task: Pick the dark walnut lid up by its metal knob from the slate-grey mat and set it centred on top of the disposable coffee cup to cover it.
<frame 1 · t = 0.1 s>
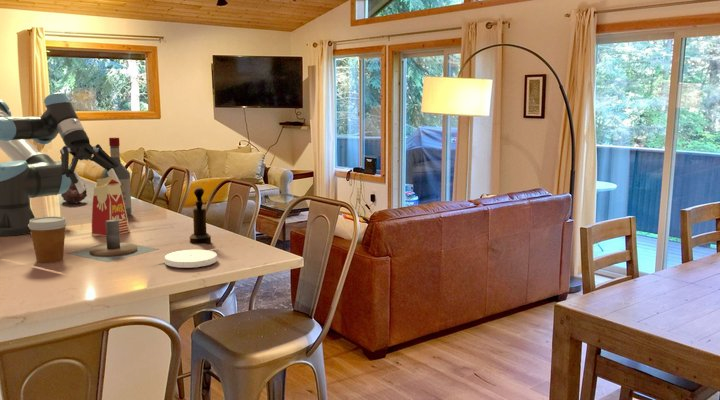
hand: (101, 189, 198), 15 cm above the kitchen island, tool tilted 35°, fingers open, 13 cm apart
liquor: (117, 215, 236), on the kitchen island
plastic lid: (191, 265, 167), on the kitchen island
walnut lid: (113, 251, 177), point 1 cm above the kitchen island, touching slate mat
black pedestal statuette: (200, 243, 191), on the kitchen island
milk carton: (109, 235, 201), on the kitchen island
pine cone: (74, 203, 261), on the kitchen island
slate mat: (113, 253, 177), on the kitchen island
disposable coffee cup: (50, 262, 166), on the kitchen island
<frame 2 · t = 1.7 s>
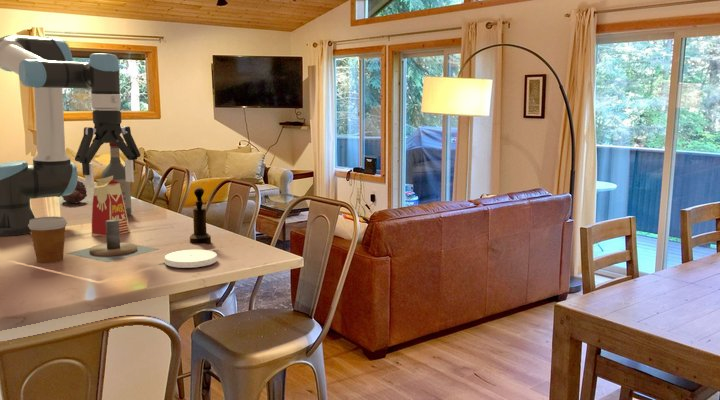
hand: (110, 184, 174), 20 cm above the kitchen island, tool pointing down, fingers open, 13 cm apart
nothing on the kitchen island moved.
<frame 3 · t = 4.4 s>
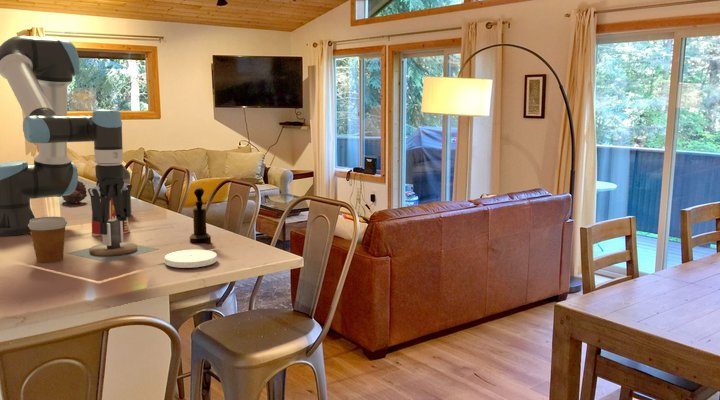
hand: (113, 243, 177), 3 cm above the kitchen island, tool pointing down, fingers closed on walnut lid, 3 cm apart
walnut lid: (113, 250, 177), point 1 cm above the kitchen island, touching gripper
everything else where it was.
when the fingers open (16 cm above the kitchen island, at t = 10.0 s): walnut lid drops 2 cm, resting on disposable coffee cup.
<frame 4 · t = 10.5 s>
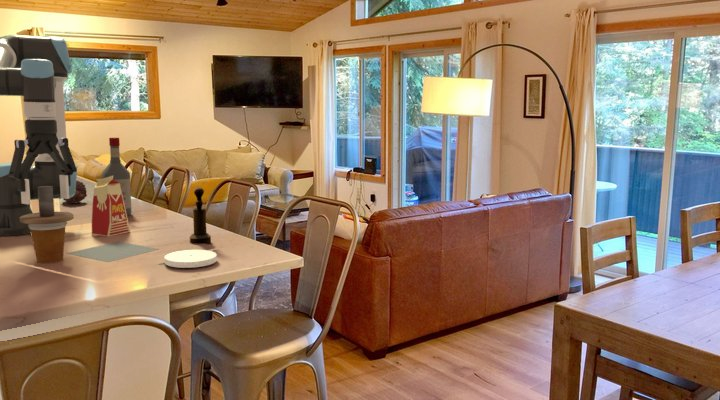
hand: (46, 200, 163), 17 cm above the kitchen island, tool pointing down, fingers open, 10 cm apart
walnut lid: (47, 219, 164), point 12 cm above the kitchen island, touching disposable coffee cup
disposable coffee cup: (50, 262, 166), on the kitchen island, touching walnut lid
everything else where it was.
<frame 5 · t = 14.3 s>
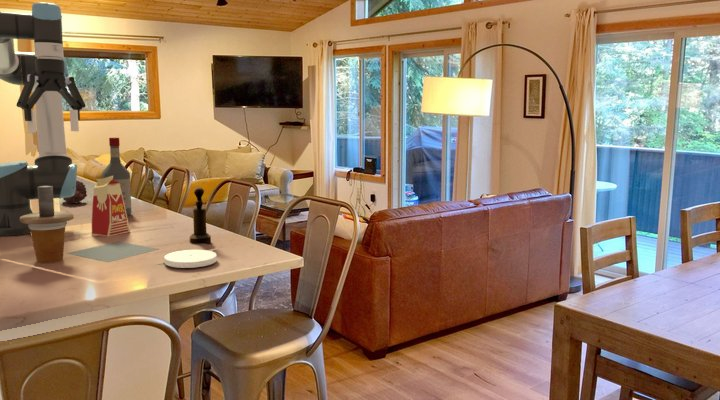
hand: (54, 132, 179), 35 cm above the kitchen island, tool pointing down, fingers open, 13 cm apart
nothing on the kitchen island moved.
at the end: walnut lid 0.1 cm off-centre on the disposable coffee cup, point 12.2 cm above the disposable coffee cup's base; walnut lid tilted 0°; disposable coffee cup tilted 0° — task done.
